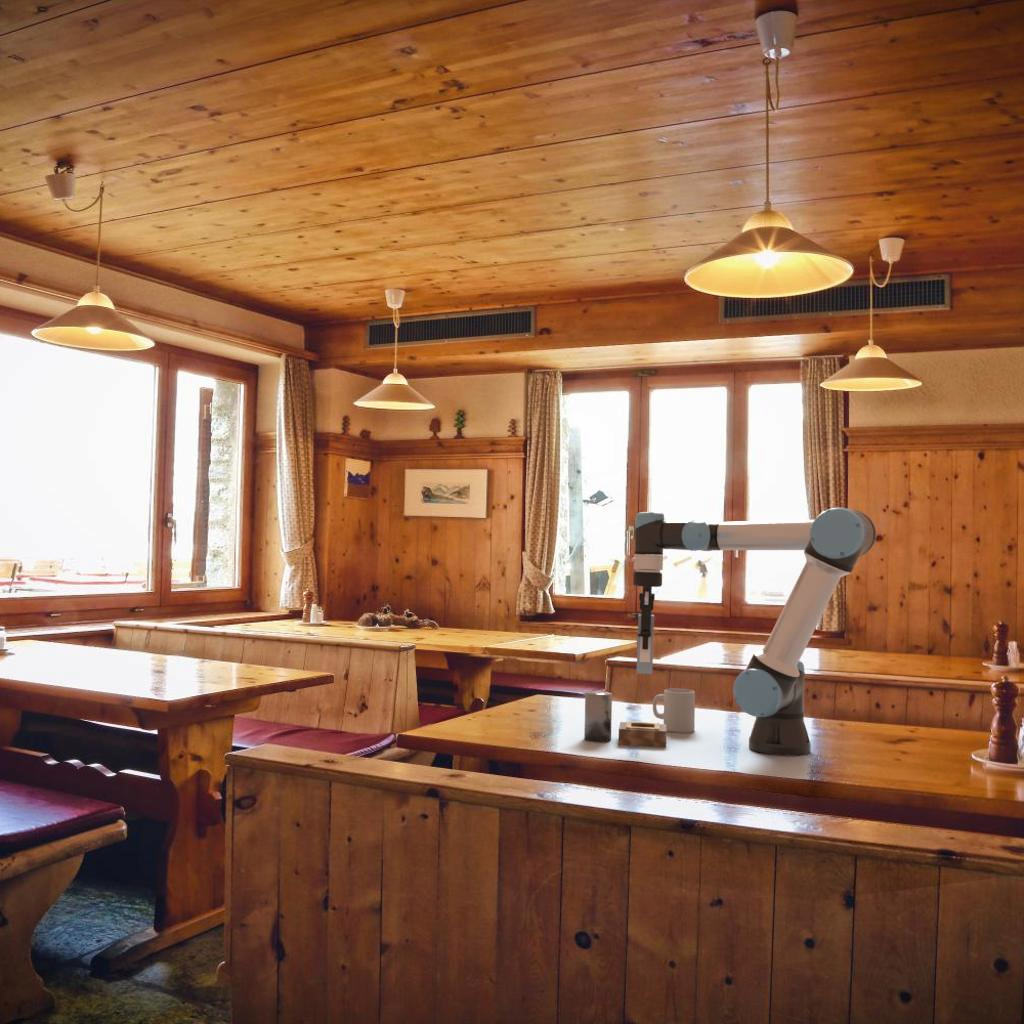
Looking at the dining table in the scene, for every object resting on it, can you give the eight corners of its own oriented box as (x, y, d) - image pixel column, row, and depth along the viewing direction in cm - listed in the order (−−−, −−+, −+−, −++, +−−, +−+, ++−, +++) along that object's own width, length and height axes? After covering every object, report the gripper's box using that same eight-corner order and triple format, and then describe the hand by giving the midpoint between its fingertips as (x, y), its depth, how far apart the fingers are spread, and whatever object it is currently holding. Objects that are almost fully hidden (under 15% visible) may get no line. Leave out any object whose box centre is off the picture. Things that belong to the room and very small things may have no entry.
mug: (698, 729, 268) (698, 690, 268) (689, 734, 260) (689, 693, 261) (657, 724, 273) (658, 686, 274) (647, 729, 266) (648, 689, 266)
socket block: (665, 739, 252) (666, 722, 252) (666, 747, 242) (666, 729, 242) (620, 737, 254) (620, 720, 254) (618, 744, 244) (618, 727, 244)
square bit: (652, 672, 250) (654, 611, 251) (652, 674, 246) (654, 612, 247) (637, 671, 251) (638, 611, 252) (636, 673, 247) (638, 612, 248)
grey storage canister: (615, 741, 248) (616, 695, 248) (591, 742, 246) (592, 695, 246) (603, 736, 255) (604, 691, 255) (580, 737, 252) (580, 691, 253)
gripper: (634, 569, 259) (631, 656, 258) (632, 571, 242) (629, 664, 241) (662, 571, 257) (659, 658, 257) (662, 572, 241) (659, 665, 240)
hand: (644, 660), depth 249 cm, fingers closed on square bit, 4 cm apart
